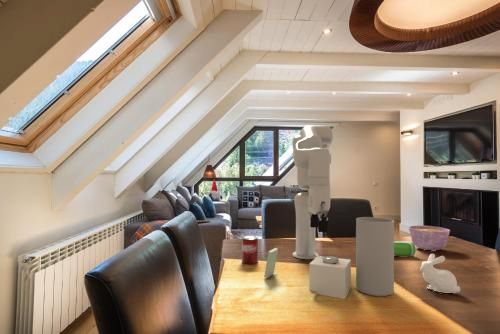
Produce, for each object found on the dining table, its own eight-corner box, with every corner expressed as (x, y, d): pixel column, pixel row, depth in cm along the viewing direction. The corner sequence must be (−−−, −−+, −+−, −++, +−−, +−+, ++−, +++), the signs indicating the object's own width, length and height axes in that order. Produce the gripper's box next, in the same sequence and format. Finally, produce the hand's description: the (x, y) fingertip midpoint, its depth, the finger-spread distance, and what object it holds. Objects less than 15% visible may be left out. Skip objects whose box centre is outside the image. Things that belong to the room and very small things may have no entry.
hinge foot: (272, 276, 128) (272, 273, 128) (277, 277, 127) (277, 274, 127) (266, 281, 122) (266, 279, 122) (270, 282, 121) (270, 279, 121)
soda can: (256, 267, 140) (256, 239, 140) (240, 266, 142) (240, 239, 142) (259, 263, 147) (259, 236, 147) (243, 261, 149) (244, 235, 149)
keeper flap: (271, 272, 129) (275, 247, 128) (273, 273, 128) (278, 248, 128) (264, 277, 122) (268, 251, 122) (266, 278, 122) (271, 252, 121)
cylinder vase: (390, 300, 105) (390, 223, 106) (352, 292, 112) (352, 220, 112) (396, 288, 116) (396, 219, 116) (360, 282, 123) (360, 216, 123)
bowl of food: (450, 248, 180) (450, 227, 180) (449, 256, 163) (449, 233, 163) (410, 244, 190) (410, 224, 191) (406, 250, 174) (406, 229, 174)
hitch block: (317, 282, 122) (318, 255, 122) (350, 287, 117) (350, 259, 117) (309, 292, 111) (309, 263, 111) (344, 299, 106) (345, 268, 106)
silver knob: (324, 283, 118) (324, 255, 118) (339, 286, 115) (340, 257, 115) (320, 288, 113) (320, 259, 113) (336, 291, 110) (337, 261, 110)
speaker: (409, 254, 166) (409, 240, 166) (416, 258, 158) (416, 243, 159) (374, 254, 166) (374, 239, 166) (380, 257, 159) (380, 242, 159)
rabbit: (418, 288, 116) (418, 255, 116) (427, 282, 122) (427, 251, 123) (457, 298, 107) (457, 262, 107) (464, 291, 114) (464, 257, 114)
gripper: (302, 181, 125) (302, 225, 125) (315, 182, 108) (315, 234, 107) (321, 181, 126) (321, 225, 125) (337, 183, 108) (337, 234, 108)
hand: (318, 229), depth 116 cm, fingers open, 9 cm apart
